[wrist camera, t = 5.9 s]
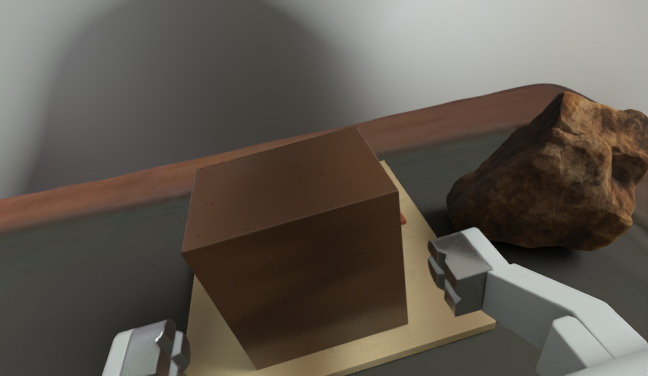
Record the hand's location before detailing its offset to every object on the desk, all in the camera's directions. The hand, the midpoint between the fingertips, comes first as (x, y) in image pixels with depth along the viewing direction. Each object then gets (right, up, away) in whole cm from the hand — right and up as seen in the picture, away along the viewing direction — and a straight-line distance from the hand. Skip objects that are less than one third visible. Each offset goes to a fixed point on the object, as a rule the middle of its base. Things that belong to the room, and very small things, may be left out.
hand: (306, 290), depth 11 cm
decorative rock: (+17, 0, +17) cm, 24 cm away
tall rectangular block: (0, -5, +14) cm, 15 cm away
